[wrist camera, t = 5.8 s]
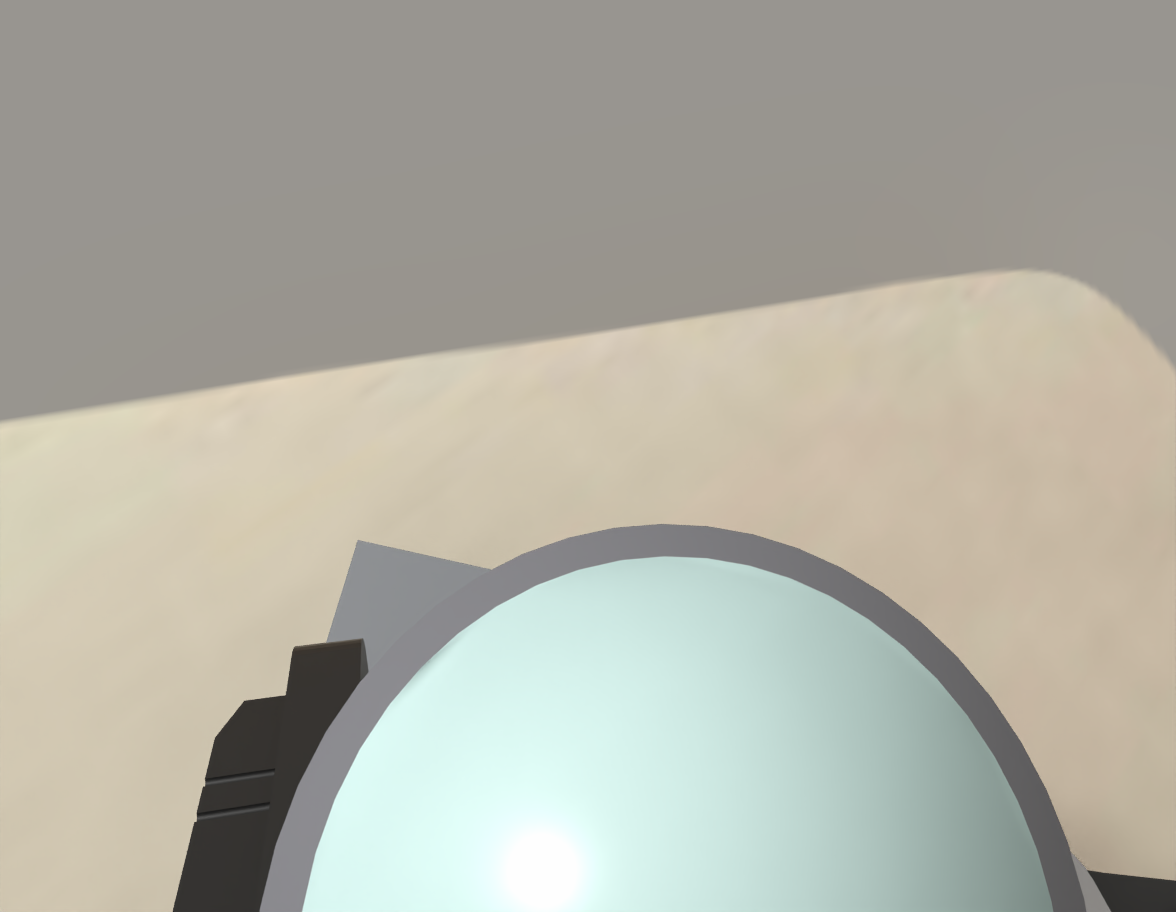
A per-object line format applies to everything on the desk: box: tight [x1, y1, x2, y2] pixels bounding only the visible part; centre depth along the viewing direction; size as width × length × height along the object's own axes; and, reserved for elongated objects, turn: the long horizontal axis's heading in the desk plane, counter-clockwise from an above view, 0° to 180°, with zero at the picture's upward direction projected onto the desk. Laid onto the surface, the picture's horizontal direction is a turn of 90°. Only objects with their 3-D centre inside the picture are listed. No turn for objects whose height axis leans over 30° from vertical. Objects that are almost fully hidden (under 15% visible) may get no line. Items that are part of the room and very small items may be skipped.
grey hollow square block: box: [326, 540, 491, 671], centre depth 18 cm, size 10×10×4 cm
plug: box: [260, 524, 1087, 912], centre depth 9 cm, size 4×4×10 cm
